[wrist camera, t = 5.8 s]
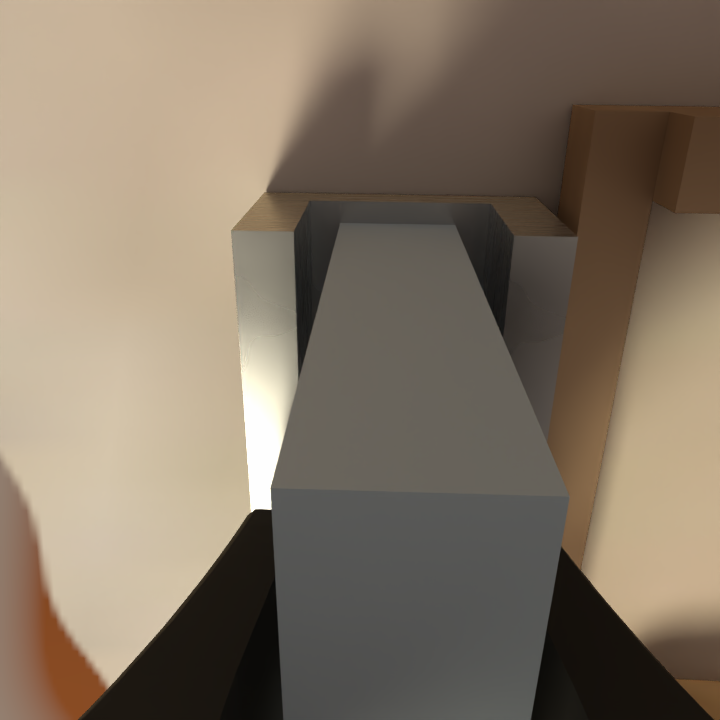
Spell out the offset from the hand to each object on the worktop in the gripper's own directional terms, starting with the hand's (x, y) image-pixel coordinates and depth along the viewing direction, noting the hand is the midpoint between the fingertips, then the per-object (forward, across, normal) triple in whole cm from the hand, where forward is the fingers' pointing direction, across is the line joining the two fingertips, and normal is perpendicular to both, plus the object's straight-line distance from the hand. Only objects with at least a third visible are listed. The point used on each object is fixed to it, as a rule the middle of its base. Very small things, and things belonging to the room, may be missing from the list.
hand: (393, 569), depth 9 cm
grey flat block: (+3, 0, 0) cm, 3 cm away
